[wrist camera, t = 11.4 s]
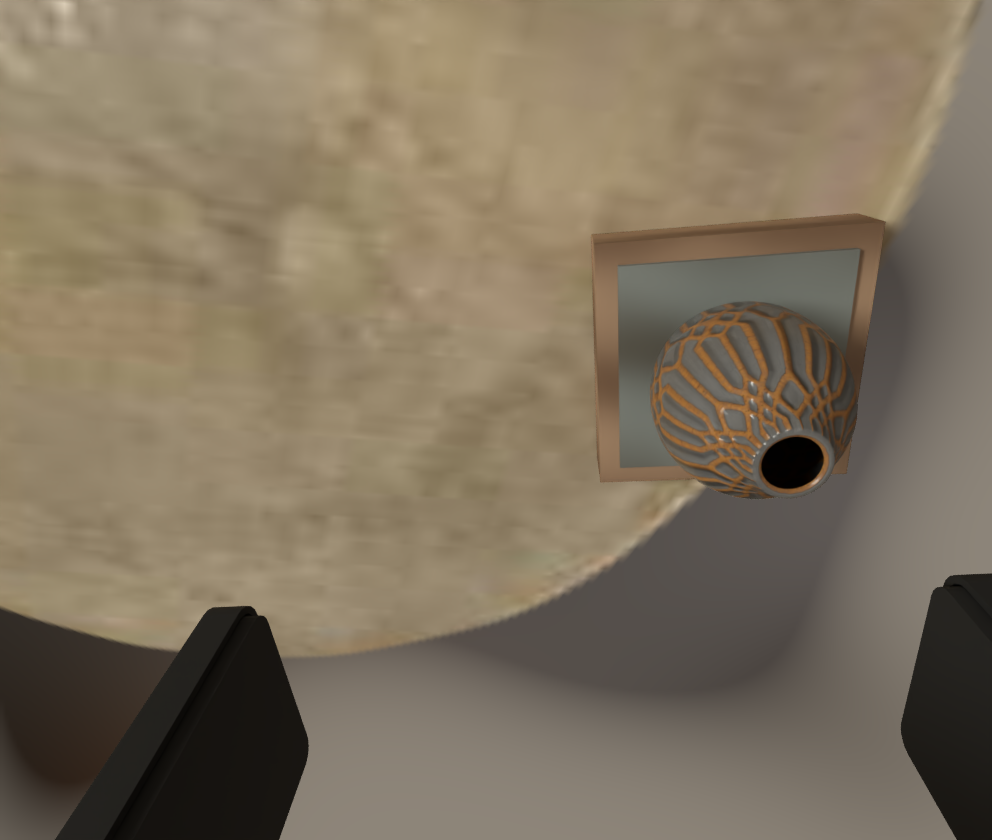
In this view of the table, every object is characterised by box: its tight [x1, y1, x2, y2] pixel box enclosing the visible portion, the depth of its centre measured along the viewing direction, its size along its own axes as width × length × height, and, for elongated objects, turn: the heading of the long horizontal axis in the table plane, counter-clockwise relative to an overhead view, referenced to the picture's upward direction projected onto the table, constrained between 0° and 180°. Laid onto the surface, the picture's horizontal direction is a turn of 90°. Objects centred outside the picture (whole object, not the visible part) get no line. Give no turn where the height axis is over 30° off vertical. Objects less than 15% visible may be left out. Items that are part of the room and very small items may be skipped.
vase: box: [650, 301, 858, 499], centre depth 23 cm, size 7×7×9 cm
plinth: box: [591, 214, 885, 482], centre depth 28 cm, size 11×11×3 cm
